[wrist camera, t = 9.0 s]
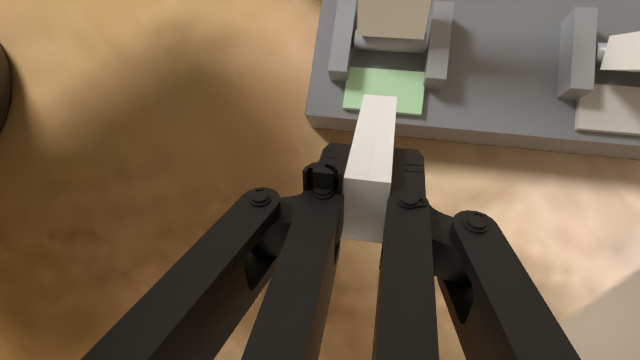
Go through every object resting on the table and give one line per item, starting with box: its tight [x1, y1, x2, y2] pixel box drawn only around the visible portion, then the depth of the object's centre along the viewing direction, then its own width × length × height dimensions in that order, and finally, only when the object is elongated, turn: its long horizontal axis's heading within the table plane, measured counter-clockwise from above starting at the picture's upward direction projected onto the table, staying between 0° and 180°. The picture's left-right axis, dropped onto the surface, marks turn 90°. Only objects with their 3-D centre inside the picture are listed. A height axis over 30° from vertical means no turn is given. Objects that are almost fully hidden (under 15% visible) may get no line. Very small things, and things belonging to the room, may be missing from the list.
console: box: [305, 0, 640, 160], centre depth 24 cm, size 23×14×5 cm, turn 81°
